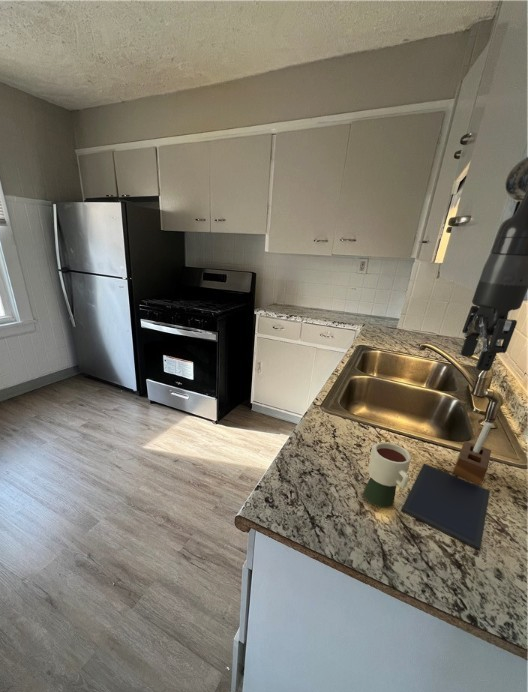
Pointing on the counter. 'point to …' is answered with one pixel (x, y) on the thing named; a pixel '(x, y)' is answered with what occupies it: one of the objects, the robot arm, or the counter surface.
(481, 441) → the stylus
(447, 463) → the counter surface
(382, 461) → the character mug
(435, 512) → the tablet
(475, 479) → the pen stand
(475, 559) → the counter surface
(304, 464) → the counter surface
